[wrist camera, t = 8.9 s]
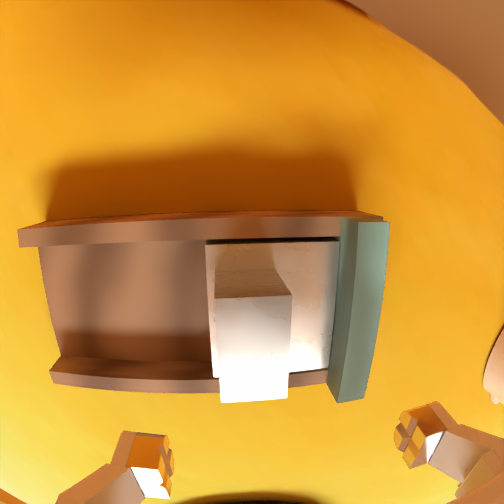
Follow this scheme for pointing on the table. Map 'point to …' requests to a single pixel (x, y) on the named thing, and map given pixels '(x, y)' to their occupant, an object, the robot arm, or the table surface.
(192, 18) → the table surface
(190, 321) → the drawer
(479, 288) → the table surface
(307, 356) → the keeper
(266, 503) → the cable lock
